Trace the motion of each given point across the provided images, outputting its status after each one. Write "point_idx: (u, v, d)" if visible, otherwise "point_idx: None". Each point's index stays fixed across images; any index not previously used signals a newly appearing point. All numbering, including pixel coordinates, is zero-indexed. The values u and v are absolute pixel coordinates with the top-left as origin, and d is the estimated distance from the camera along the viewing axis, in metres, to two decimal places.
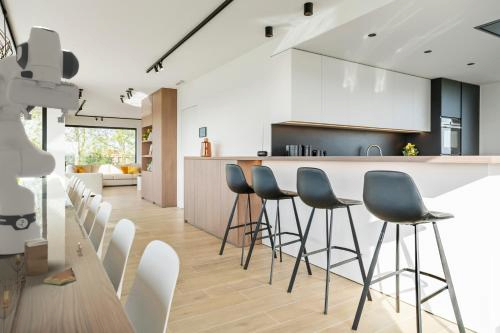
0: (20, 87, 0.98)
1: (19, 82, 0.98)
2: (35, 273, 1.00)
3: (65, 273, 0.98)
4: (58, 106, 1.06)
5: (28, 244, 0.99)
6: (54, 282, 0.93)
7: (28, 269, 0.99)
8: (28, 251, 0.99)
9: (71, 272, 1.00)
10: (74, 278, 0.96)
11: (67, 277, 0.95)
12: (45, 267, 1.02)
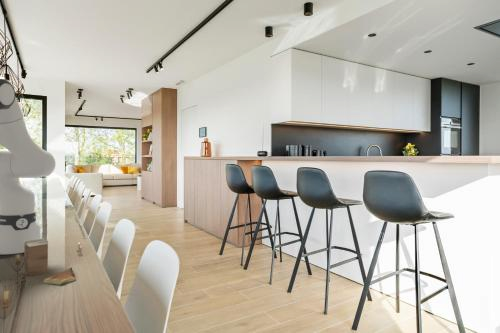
0: None
1: None
2: (35, 273, 1.00)
3: (65, 273, 0.98)
4: None
5: (28, 244, 0.99)
6: (54, 282, 0.93)
7: (28, 269, 0.99)
8: (28, 251, 0.99)
9: (71, 272, 1.00)
10: (74, 278, 0.96)
11: (67, 277, 0.95)
12: (45, 267, 1.02)
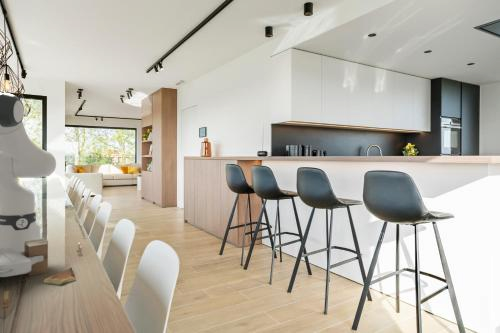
0: None
1: None
2: (35, 273, 1.00)
3: (65, 273, 0.98)
4: None
5: (28, 244, 0.99)
6: (54, 282, 0.93)
7: None
8: (28, 251, 0.99)
9: (71, 272, 1.00)
10: (74, 278, 0.96)
11: (67, 277, 0.95)
12: (45, 267, 1.02)
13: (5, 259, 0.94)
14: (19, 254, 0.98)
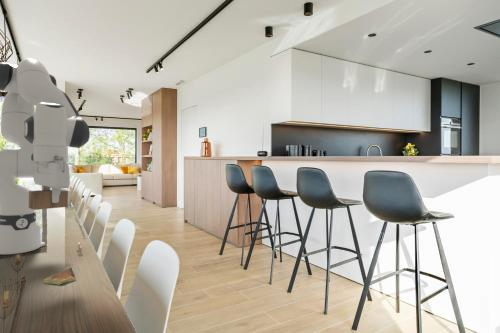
0: (37, 169, 1.02)
1: (34, 165, 1.02)
2: (35, 198, 0.93)
3: (65, 273, 0.98)
4: (48, 185, 0.95)
5: (68, 190, 1.01)
6: (54, 282, 0.93)
7: (40, 192, 0.95)
8: (61, 190, 0.99)
9: (70, 272, 1.00)
10: (74, 278, 0.96)
11: (67, 277, 0.95)
12: (40, 207, 0.94)
13: None
14: None
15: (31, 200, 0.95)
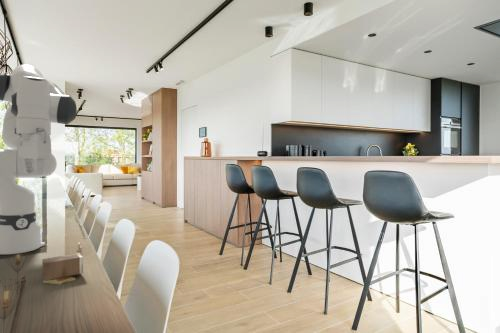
0: (20, 143, 1.03)
1: (18, 139, 1.03)
2: (46, 268, 0.93)
3: None
4: (30, 157, 0.97)
5: (80, 256, 0.99)
6: (54, 283, 0.93)
7: (51, 261, 0.94)
8: (73, 257, 0.98)
9: None
10: (74, 279, 0.96)
11: (67, 278, 0.95)
12: (51, 277, 0.94)
13: None
14: None
15: (43, 269, 0.94)
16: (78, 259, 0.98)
